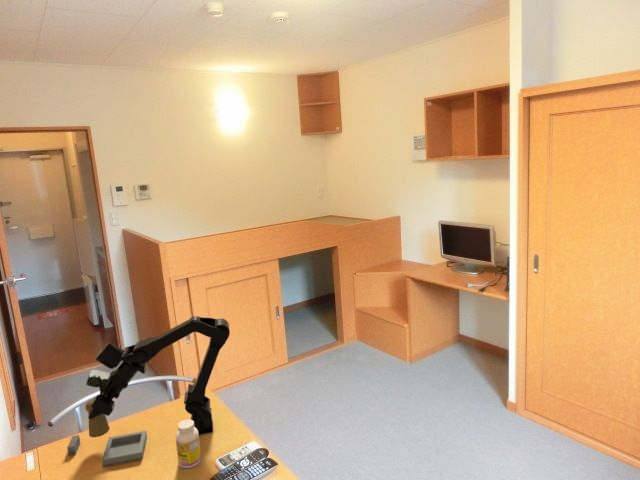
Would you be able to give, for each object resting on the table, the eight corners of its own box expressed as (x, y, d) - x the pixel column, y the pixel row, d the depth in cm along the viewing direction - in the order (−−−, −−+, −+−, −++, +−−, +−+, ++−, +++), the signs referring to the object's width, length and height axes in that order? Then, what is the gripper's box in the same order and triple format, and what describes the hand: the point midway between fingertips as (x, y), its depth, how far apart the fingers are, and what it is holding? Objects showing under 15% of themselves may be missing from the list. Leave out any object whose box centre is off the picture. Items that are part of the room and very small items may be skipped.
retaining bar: (80, 443, 146) (79, 435, 146) (75, 454, 141) (74, 446, 140) (73, 444, 146) (72, 436, 145) (68, 455, 140) (67, 447, 140)
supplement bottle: (174, 462, 135) (169, 424, 132) (193, 451, 140) (189, 414, 137) (186, 472, 130) (181, 433, 128) (205, 460, 135) (201, 422, 133)
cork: (101, 437, 139) (95, 406, 137) (84, 436, 141) (78, 405, 138) (113, 426, 145) (108, 395, 143) (97, 425, 146) (92, 394, 144)
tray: (147, 437, 148) (146, 430, 147) (142, 459, 137) (141, 452, 137) (110, 444, 145) (109, 437, 145) (102, 467, 134) (101, 459, 134)
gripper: (107, 350, 148) (76, 386, 148) (93, 376, 130) (59, 417, 130) (135, 367, 151) (106, 403, 151) (126, 395, 134) (92, 435, 133)
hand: (91, 413), depth 141 cm, fingers closed on cork, 5 cm apart
